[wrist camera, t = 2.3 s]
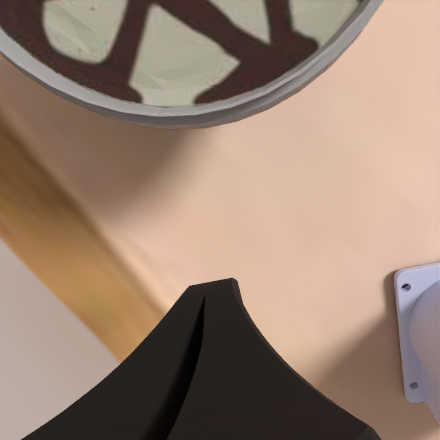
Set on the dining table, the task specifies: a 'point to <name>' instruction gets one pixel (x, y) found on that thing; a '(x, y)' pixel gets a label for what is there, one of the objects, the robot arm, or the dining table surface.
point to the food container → (178, 53)
